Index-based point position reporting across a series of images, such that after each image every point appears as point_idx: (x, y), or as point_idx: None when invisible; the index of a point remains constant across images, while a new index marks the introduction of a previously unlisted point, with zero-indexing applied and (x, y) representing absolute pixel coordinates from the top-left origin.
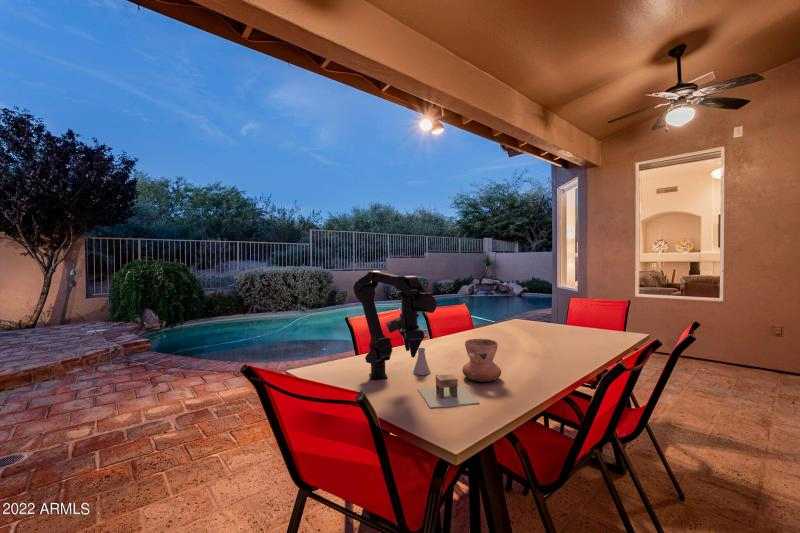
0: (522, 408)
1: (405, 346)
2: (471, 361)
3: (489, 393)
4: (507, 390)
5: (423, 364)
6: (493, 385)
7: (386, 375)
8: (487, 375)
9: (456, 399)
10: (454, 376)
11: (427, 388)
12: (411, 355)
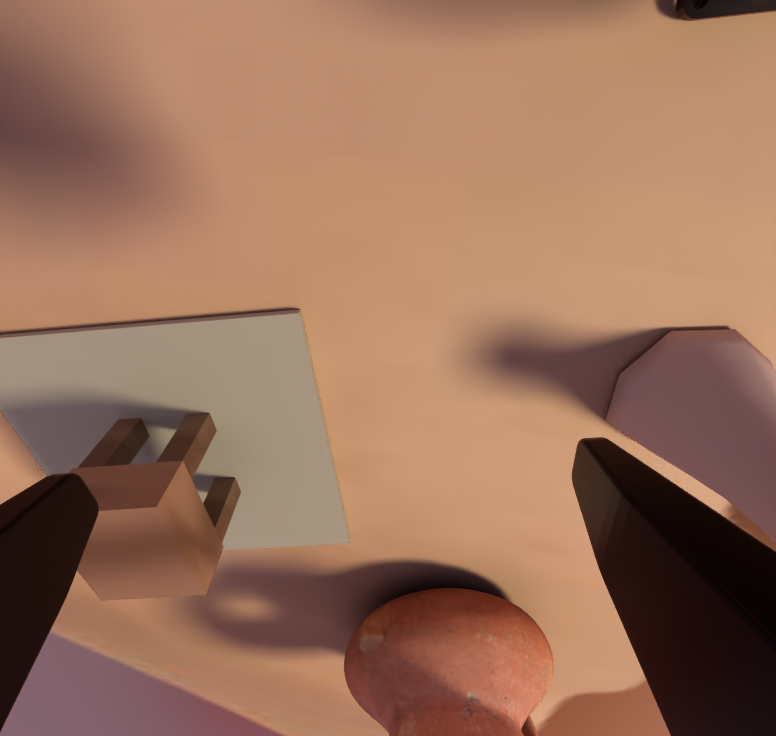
0: (97, 641)
1: (631, 505)
2: (450, 707)
3: (245, 603)
4: (282, 651)
5: (680, 451)
6: (345, 632)
7: (759, 8)
8: (345, 671)
9: None
10: (151, 596)
11: (298, 377)
12: (6, 501)
